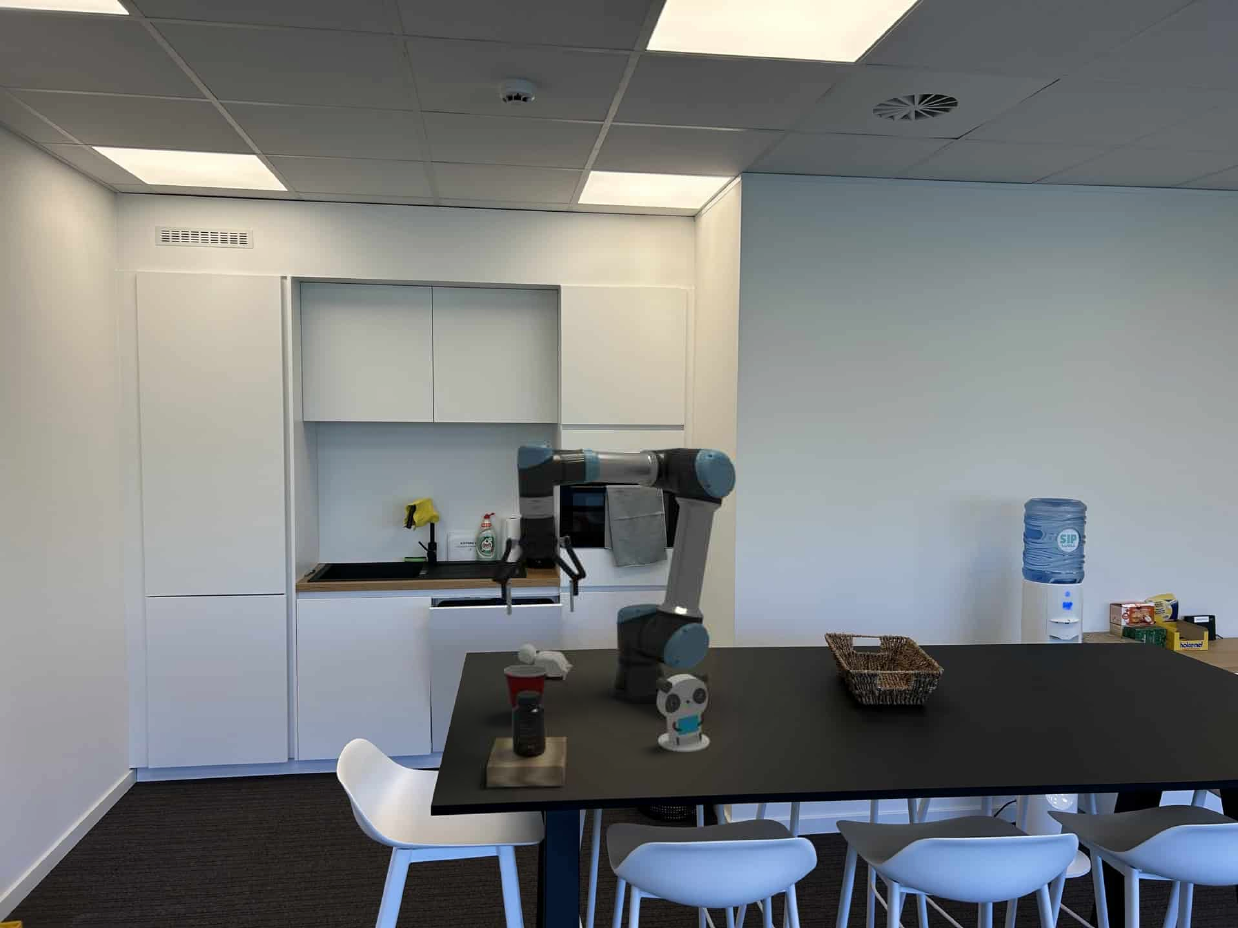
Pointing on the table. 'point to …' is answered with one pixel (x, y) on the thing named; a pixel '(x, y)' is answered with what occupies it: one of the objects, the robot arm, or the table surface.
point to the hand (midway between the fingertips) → (540, 612)
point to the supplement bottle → (528, 725)
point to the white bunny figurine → (545, 660)
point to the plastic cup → (525, 680)
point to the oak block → (527, 765)
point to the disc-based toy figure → (683, 711)
